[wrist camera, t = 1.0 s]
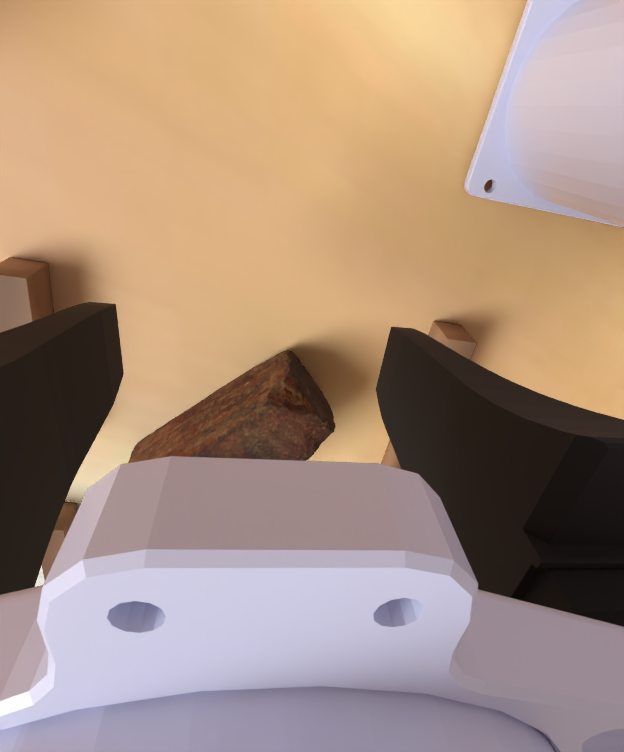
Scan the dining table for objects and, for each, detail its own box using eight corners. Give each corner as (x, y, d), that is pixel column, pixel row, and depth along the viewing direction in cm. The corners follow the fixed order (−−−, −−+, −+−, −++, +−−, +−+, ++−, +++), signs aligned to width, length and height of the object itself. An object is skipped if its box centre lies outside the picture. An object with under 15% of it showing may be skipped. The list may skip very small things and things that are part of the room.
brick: (183, 479, 26) (169, 546, 22) (134, 440, 24) (109, 505, 20) (329, 391, 24) (342, 448, 20) (287, 340, 22) (292, 391, 18)
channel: (461, 325, 22) (481, 348, 20) (345, 609, 35) (350, 641, 33) (-214, 223, 17) (-282, 240, 15) (-59, 599, 30) (-83, 637, 28)
